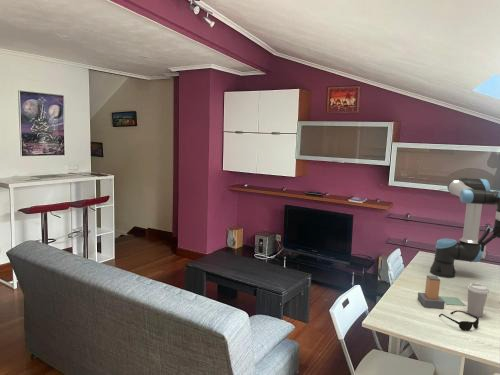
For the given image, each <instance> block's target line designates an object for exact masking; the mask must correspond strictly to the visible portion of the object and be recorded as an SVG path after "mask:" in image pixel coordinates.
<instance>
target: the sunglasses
mask: <svg viewBox="0 0 500 375" xmlns="http://www.w3.org/2000/svg"><path fill="white" fill-rule="evenodd" d="M455 313H463V314H466V315H468V316H469V317H471V318H474V319H476V320H474V321H468V320H462V321H457V320H456V319H453V318H451V317H449V316H447V315H445V314H443V313H440V314H438V317H439V318H441V316H443V317H445V318H447V319H448V320H450V321H452V322H454V323H455V324H457V325H458V327H459V329H460V330H461V331H465V332H466V331H467V332H468V331H470V330H471V329H472V328H474V329H475V330H477V329H478V327H479V322H480V317H476V316H474V315H472V314H469V313H467V311H463V310H457V309H456V310H454V311H451V312H450V315H453V314H455Z"/></svg>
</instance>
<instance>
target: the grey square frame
mask: <svg viewBox="0 0 500 375" xmlns="http://www.w3.org/2000/svg"><path fill="white" fill-rule="evenodd" d="M417 301H419V303H420V304H421V306H422V307H423V308H427V309H439V310H441V309H442V310H444V309H445V305H446V303H445V301H444V300H443V299H442V298H441V297H440V295H438V300H435V299H427V298H426V296H425V292H418V293H417Z"/></svg>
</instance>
